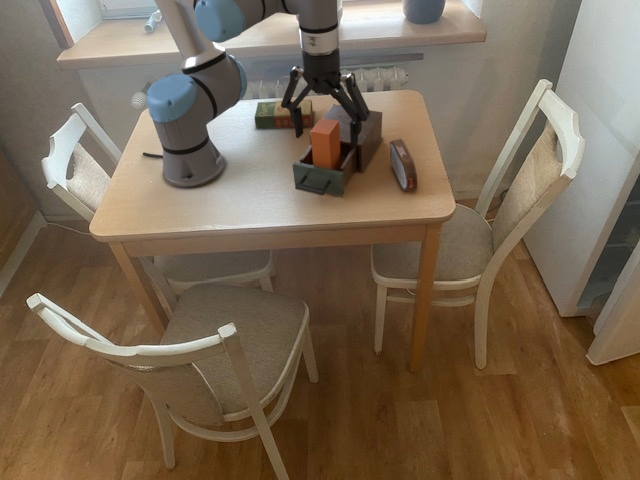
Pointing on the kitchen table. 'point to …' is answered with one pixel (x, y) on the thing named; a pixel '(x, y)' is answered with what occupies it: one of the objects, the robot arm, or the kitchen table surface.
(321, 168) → the drawer
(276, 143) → the kitchen table surface
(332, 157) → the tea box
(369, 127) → the cabinet
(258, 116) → the carton
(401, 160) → the tin
